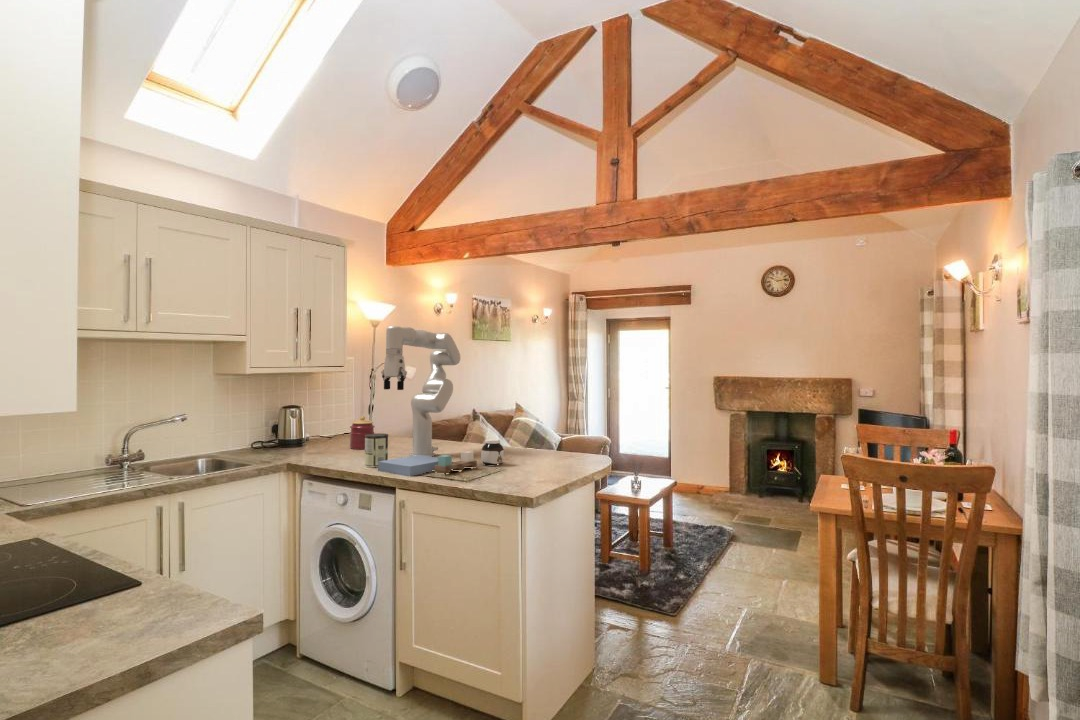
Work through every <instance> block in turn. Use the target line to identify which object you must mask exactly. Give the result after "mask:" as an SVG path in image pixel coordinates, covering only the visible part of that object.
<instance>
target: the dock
mask: <svg viewBox="0 0 1080 720" xmlns="http://www.w3.org/2000/svg"><path fill="white" fill-rule="evenodd" d="M435 465H438V456H433V457H432V456H425V455H415V456H409V455H408V456H403V457H397V458H393V459H392V458H391V459H388V460H385V461H379V462H378V467H377V471H378V472H381V473H382V472H383V473H388V472H389V474H394V473H395V475H401V476H406V477H413V476H418V475H422V474H423V473H424V474H427V473H426V472H429V471H432V470H435ZM429 473H430V472H429Z"/></svg>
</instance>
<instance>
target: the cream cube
mask: <svg viewBox="0 0 1080 720" xmlns="http://www.w3.org/2000/svg"><path fill="white" fill-rule="evenodd" d="M474 455H475V453H474V451H469V450H465V451H464V450H463V451H460V461H463V462H470V461H474Z"/></svg>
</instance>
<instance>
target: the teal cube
mask: <svg viewBox="0 0 1080 720" xmlns="http://www.w3.org/2000/svg"><path fill="white" fill-rule="evenodd" d="M437 457H438V466H450V465H452V462H453V456H452V455H448V454H442V455H438V456H437Z"/></svg>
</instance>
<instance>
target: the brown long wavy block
mask: <svg viewBox="0 0 1080 720" xmlns="http://www.w3.org/2000/svg"><path fill="white" fill-rule="evenodd" d="M477 463H478V462H477V460H474V461H470V462H463V461H461V460H456V461H452V465H450V466H438V465H435V471H434V473H435V472H437V473H444V474H446V473H449V472H450V473H451V471H450V470H451V469H453V470H463V469H464V470H465V468H464V467H476V466H477V467H478V464H477Z"/></svg>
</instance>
